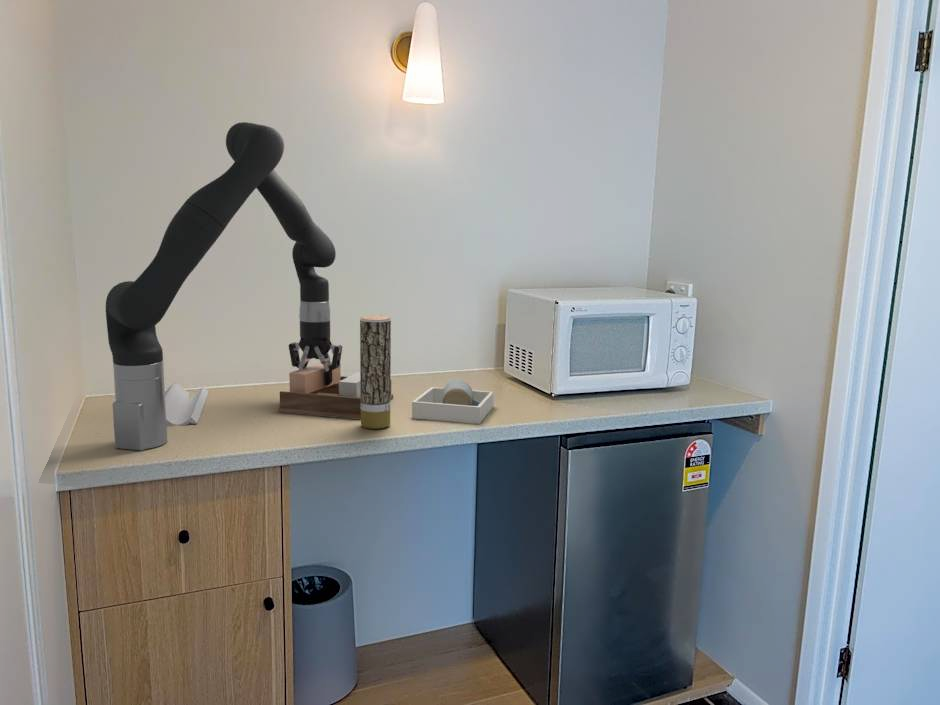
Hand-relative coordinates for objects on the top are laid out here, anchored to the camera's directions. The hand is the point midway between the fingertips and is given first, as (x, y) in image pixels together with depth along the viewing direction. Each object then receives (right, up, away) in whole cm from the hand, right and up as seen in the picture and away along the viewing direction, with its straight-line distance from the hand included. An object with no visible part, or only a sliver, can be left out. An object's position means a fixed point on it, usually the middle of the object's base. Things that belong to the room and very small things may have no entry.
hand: (315, 384), depth 184 cm
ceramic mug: (+37, -7, -5) cm, 38 cm away
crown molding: (-32, -7, -7) cm, 34 cm away
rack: (+6, -5, 0) cm, 8 cm away
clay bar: (0, -1, 0) cm, 1 cm away
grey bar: (+12, -3, -2) cm, 12 cm away
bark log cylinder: (+18, -9, -18) cm, 27 cm away
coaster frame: (+35, -7, -5) cm, 36 cm away
